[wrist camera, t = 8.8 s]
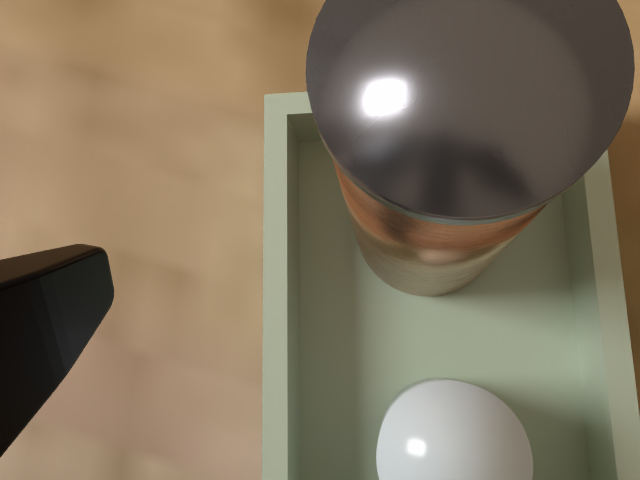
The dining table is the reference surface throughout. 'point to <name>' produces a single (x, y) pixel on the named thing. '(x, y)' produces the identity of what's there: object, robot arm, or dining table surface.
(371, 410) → the tote
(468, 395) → the light grey rounded cylinder
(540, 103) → the coffee tin
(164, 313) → the dining table surface
